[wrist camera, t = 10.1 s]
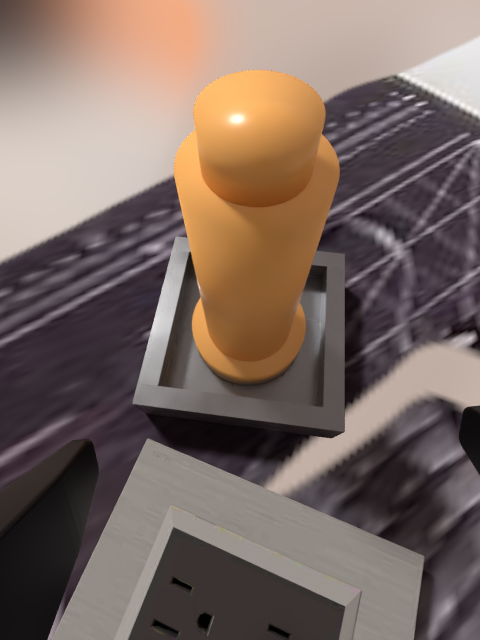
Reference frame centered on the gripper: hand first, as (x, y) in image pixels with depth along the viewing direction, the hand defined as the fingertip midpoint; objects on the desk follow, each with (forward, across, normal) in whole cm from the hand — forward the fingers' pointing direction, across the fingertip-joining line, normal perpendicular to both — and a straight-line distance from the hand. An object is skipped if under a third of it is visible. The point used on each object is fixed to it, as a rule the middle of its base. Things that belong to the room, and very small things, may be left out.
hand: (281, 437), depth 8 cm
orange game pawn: (+11, 0, +2) cm, 12 cm away
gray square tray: (+12, 0, +2) cm, 12 cm away
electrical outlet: (+4, +2, +12) cm, 13 cm away
